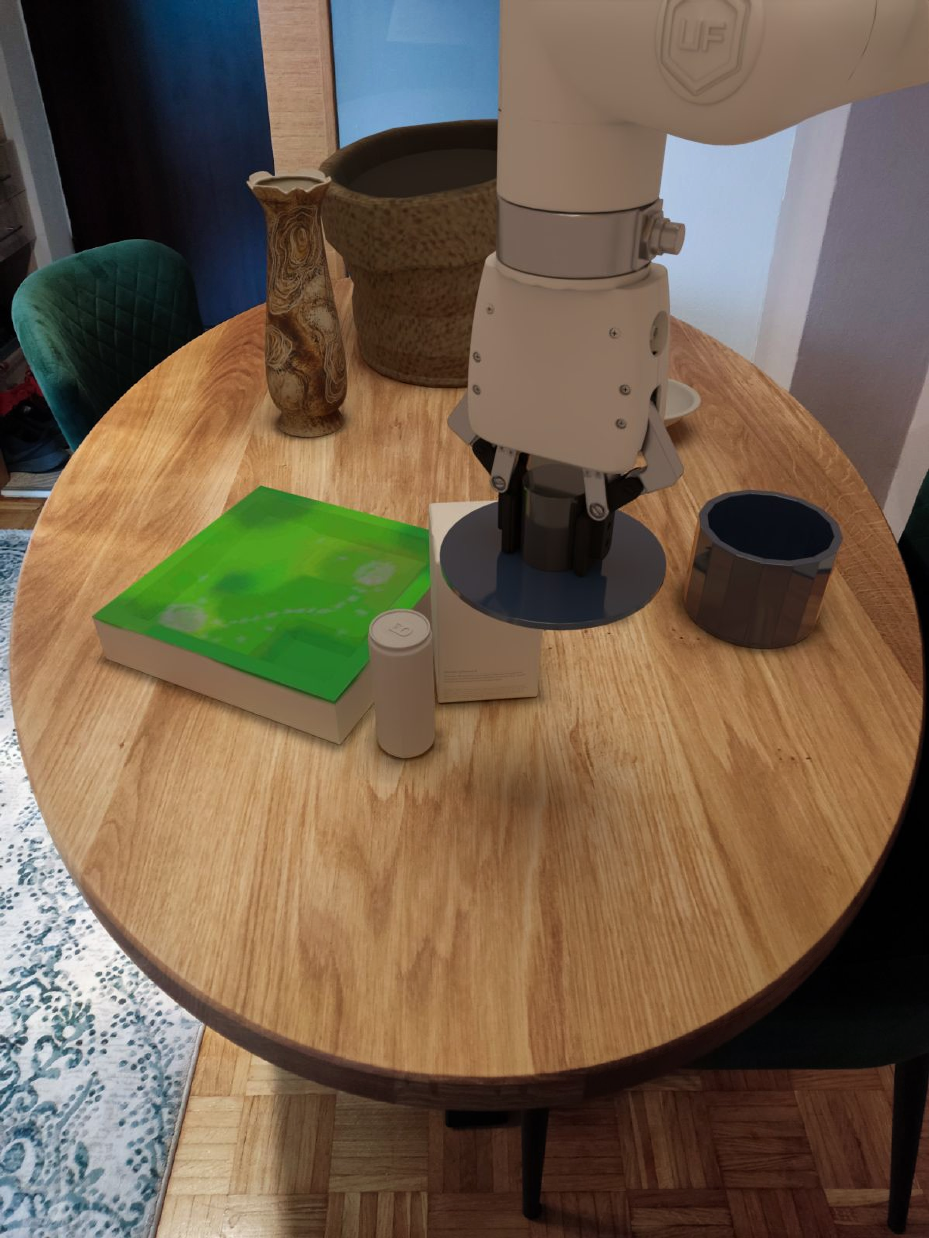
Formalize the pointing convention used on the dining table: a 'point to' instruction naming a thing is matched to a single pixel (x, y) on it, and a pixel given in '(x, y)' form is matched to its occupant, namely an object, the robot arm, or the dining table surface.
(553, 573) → the lid
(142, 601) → the flat green box
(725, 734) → the dining table surface
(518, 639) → the white product box
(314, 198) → the vase
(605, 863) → the dining table surface
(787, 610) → the enamel pot
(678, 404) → the dish
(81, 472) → the dining table surface
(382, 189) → the pot
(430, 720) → the beverage can
